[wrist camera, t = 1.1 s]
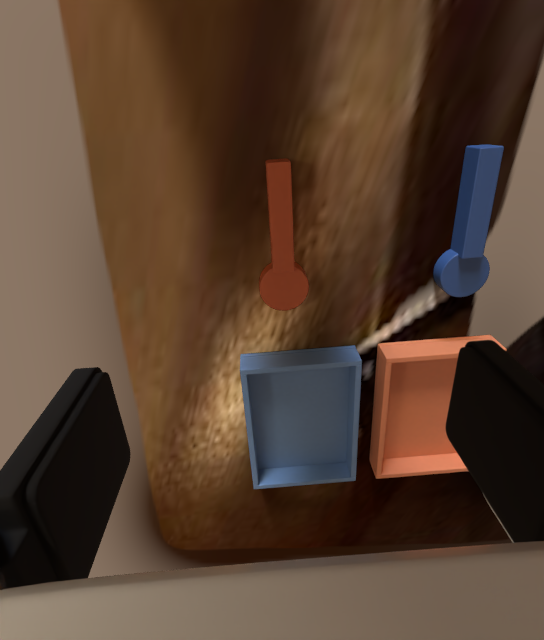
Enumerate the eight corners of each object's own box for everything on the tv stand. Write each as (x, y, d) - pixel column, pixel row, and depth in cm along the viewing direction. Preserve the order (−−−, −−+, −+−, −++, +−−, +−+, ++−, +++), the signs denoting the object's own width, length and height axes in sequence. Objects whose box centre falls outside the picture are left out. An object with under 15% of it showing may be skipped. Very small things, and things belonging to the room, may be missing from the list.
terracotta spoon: (249, 160, 27) (249, 163, 25) (304, 157, 27) (307, 159, 25) (260, 305, 32) (261, 316, 30) (307, 301, 32) (310, 312, 30)
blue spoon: (449, 147, 27) (463, 148, 26) (503, 143, 27) (521, 144, 26) (430, 292, 32) (440, 302, 31) (475, 288, 32) (489, 298, 31)
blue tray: (240, 354, 34) (239, 370, 32) (354, 345, 34) (362, 360, 32) (253, 469, 41) (253, 489, 38) (349, 461, 41) (355, 481, 38)
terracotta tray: (377, 343, 34) (386, 358, 32) (490, 334, 35) (506, 349, 32) (369, 459, 41) (376, 479, 39) (464, 451, 41) (476, 470, 39)
